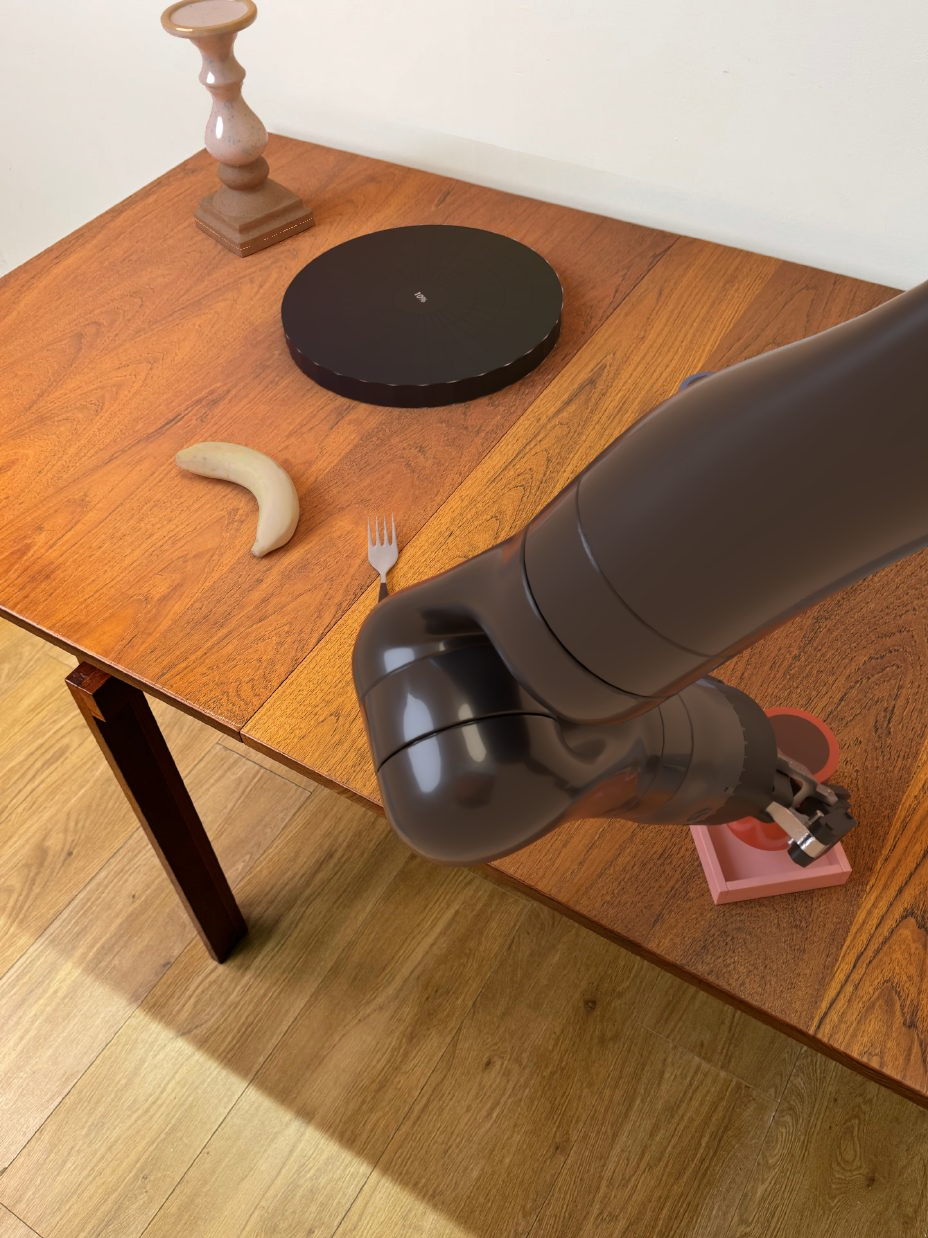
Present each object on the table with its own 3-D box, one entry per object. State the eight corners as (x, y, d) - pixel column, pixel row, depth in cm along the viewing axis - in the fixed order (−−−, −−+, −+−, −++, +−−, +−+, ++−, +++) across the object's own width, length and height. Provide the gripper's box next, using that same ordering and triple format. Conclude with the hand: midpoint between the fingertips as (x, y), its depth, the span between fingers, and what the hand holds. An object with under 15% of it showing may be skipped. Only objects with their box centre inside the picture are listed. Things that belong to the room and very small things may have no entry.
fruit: (243, 441, 97) (235, 413, 94) (327, 524, 89) (321, 497, 86) (177, 474, 94) (167, 447, 91) (258, 563, 86) (249, 536, 83)
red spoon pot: (791, 769, 67) (819, 699, 61) (822, 844, 63) (855, 778, 57) (710, 781, 67) (729, 712, 60) (736, 857, 63) (760, 793, 57)
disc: (621, 323, 106) (623, 298, 104) (397, 449, 95) (394, 424, 92) (444, 220, 122) (443, 197, 119) (233, 318, 110) (227, 294, 108)
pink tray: (797, 770, 70) (803, 755, 69) (844, 884, 65) (852, 870, 63) (677, 789, 70) (680, 774, 68) (714, 905, 64) (719, 892, 63)
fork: (369, 675, 78) (366, 660, 76) (368, 530, 88) (365, 514, 86) (402, 672, 78) (400, 657, 76) (397, 528, 88) (395, 512, 86)
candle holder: (242, 258, 118) (190, 39, 100) (194, 225, 124) (136, 12, 105) (317, 224, 122) (280, 8, 104) (267, 193, 128) (224, -17, 110)
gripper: (827, 805, 44) (933, 810, 57) (630, 599, 52) (762, 644, 65) (715, 915, 47) (841, 896, 59) (544, 702, 55) (687, 726, 68)
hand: (799, 765), depth 62 cm, fingers closed on red spoon pot, 5 cm apart
